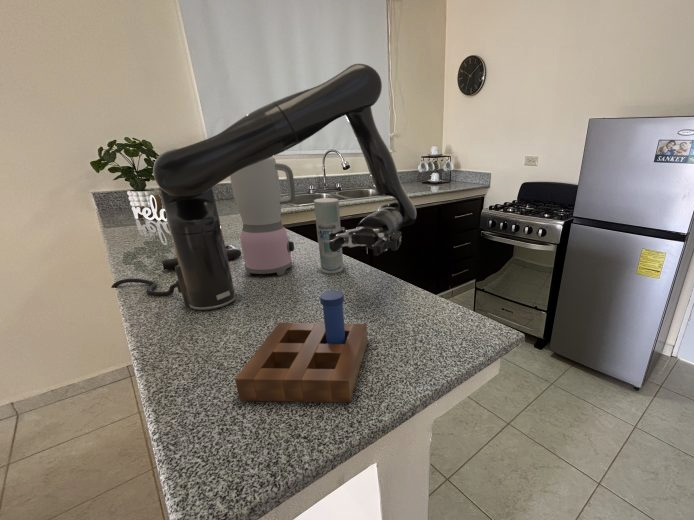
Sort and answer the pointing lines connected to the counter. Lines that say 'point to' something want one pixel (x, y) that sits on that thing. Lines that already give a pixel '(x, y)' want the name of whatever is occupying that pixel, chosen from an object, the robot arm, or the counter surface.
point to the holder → (303, 365)
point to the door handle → (230, 250)
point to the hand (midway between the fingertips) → (353, 248)
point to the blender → (263, 216)
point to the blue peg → (333, 316)
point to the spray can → (327, 223)
